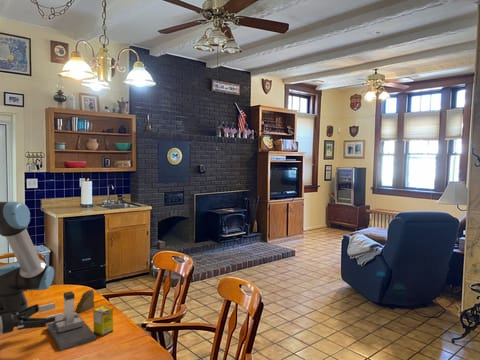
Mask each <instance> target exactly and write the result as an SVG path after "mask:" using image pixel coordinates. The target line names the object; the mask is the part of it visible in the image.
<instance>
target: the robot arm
mask: <svg viewBox="0 0 480 360" xmlns="http://www.w3.org/2000/svg"><path fill="white" fill-rule="evenodd" d="M30 222H31V212H30V209H29V207H28V206H27V205H26V204H25V203H23V202H20V201H15V200H13V201H11V200H10V201H0V236H2V237H4V238H6V240H7V242H8V245H9V246H10V249H11V250H12V253H13V255H14V257H15V258H16V259H15V260H16V261H17V262H11V263H7V264H4V265H1V266H0V335H1V334H3V335H4V334H8V333H12V332H14V329H15V328H17V330H18V331H21V330H24V329H25V330H26V329H36V328H38V329H39V328H47V324H50V323H53V322H56V321H59V320H63V315H64V312H60V313H56V314H53V315H47V316H45V317H32V316H33V315H35V314H37V313H39V314H40V313H44V312H49V311H52V310H56V303H55V302H51V303H46V304H44V305H39V304H38V303H37V304H33V305H31V306H29V305H28V300H27V298H26V295H25V293H24V291H44V290H47V289H49V288H50V287H51V285H52V283H53V281H54V275H55V269H54V267H53V266H50V265H49V266H47V264H46V262H45V261H44V260H43V259H40V257H39V254H38V252H37V249H36V248H35V246H34V243H33V241H32V239H31V237H30V235H29V231H28V225H29V224H30Z"/></svg>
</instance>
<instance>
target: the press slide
mask: <svg viewBox="0 0 480 360" xmlns="http://www.w3.org/2000/svg"><path fill="white" fill-rule="evenodd" d="M75 297H76V296H75V293H74V292H73V290H71V291H67V292H63V298H64V299H63V300H64V301H63V306H64V309H63V310H64V311H63V315H65V321H62V322H58V323H56V329H57V331H58V333H60V332H63V331H67V330H71V329H74V328H78V327H82V326H83V321H84V320H83V318H82V317H81V316H80V317H81V318H82V319H81V318H80V317H78V318H74V312H75ZM82 320H83V321H82Z"/></svg>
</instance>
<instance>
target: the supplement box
mask: <svg viewBox="0 0 480 360" xmlns="http://www.w3.org/2000/svg"><path fill="white" fill-rule="evenodd" d="M113 309H114V308H113V307H111V306H107V305H101V306H99V307H97V308H94V309H93V310H92V311H93V333H94V334H95V335H97V336H101V337H104V336H107V335H108V334H110V333H113V332H114V311H113Z"/></svg>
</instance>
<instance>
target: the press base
mask: <svg viewBox="0 0 480 360" xmlns="http://www.w3.org/2000/svg"><path fill="white" fill-rule="evenodd" d="M78 315H79V314H78V313H77V312H75V311H74V318H78V317H80V318H81V319H82V321H83V326H82V327H78V328H74V329H71V330H67V331H63V332H60V333H58V331H57V329H56V323H58V322H62V321H65V315H64V314H63V320H59V321H56V322H52V323H48V324H46V329H47V331H48V333H49V334H50V336H51V337H52V338H53V341H54V342H55V345H57V347H58V349H59V351H64V350H66V349H70V348H74V347H77V346H81V345H83V344H88V343H91V342H94V341H96V340H97V336H96V335H97V334H95V333H94V330H92V329H91V328H90V327H89V325H88V324H87V323H86V322H85V321H84V319H83V318H82V317H81V316H80V315H79V316H78Z"/></svg>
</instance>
